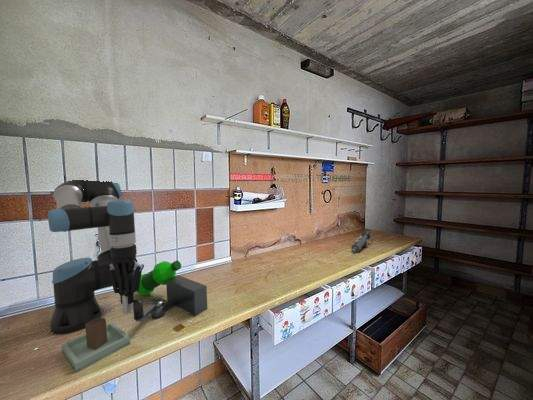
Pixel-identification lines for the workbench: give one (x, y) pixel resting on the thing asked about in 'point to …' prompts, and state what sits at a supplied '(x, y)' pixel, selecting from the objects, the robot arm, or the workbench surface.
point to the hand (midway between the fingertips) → (128, 312)
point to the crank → (138, 308)
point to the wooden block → (96, 332)
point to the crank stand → (183, 298)
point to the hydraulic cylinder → (361, 242)
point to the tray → (86, 356)
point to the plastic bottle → (158, 276)
